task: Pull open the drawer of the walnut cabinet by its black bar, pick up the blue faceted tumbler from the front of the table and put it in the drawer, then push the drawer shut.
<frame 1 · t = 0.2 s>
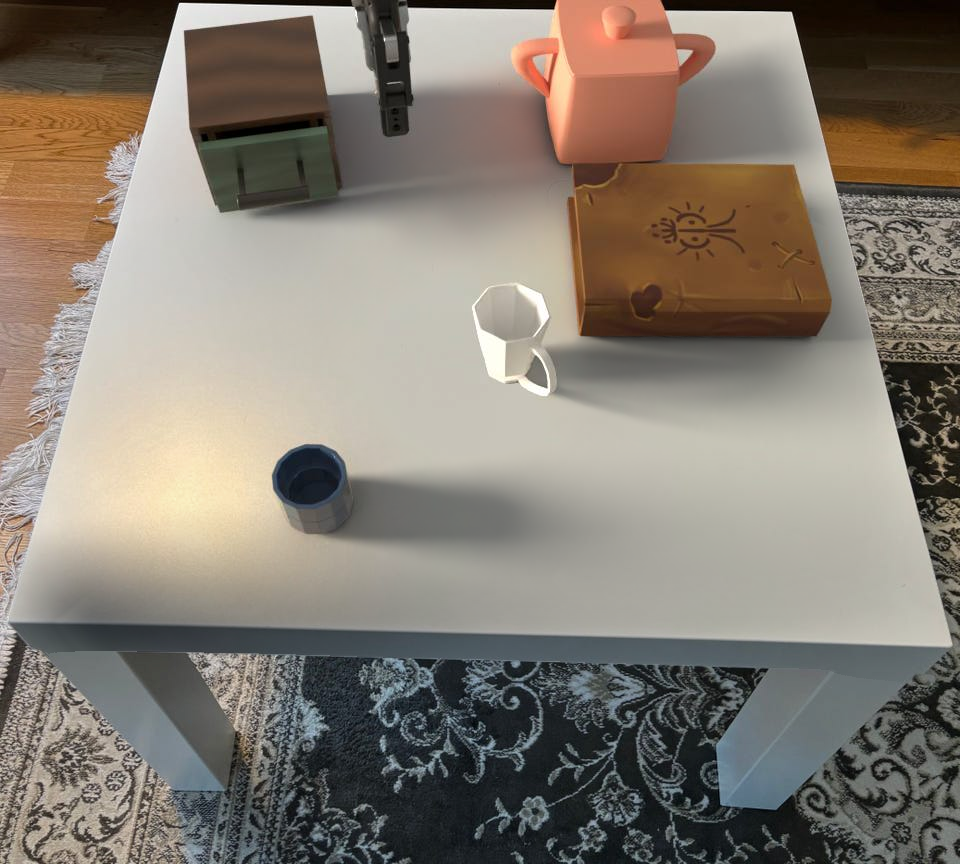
hand: (388, 100, 75), 20 cm above the table, tool pointing down, fingers open, 8 cm apart
cup: (517, 376, 85), on the table
blue faceted tumbler: (319, 505, 77), on the table
cabinet: (273, 147, 100), on the table
pink lidded sugar bowl: (599, 111, 104), on the table
diary: (683, 271, 92), on the table
drawer: (268, 143, 93), point 5 cm above the table, slide at 1.0 cm
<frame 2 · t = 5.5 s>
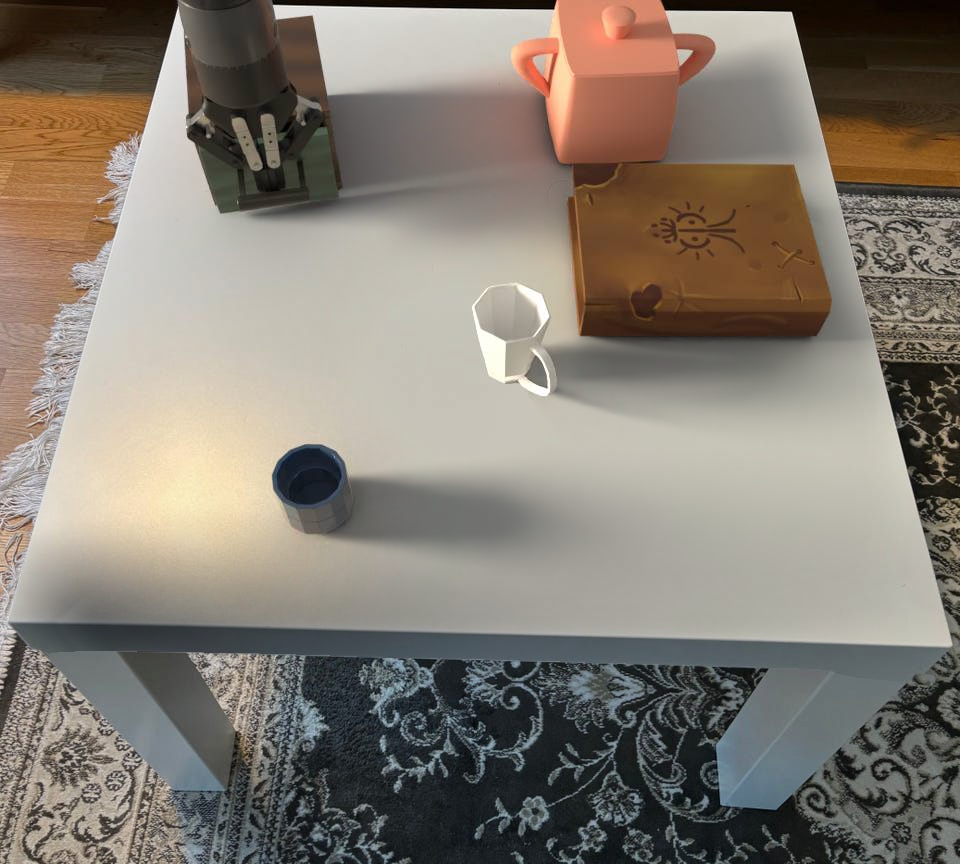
hand: (272, 190, 89), 6 cm above the table, tool pointing down, fingers closed
drawer: (268, 144, 93), point 5 cm above the table, slide at 1.1 cm, touching gripper
everything else where it was.
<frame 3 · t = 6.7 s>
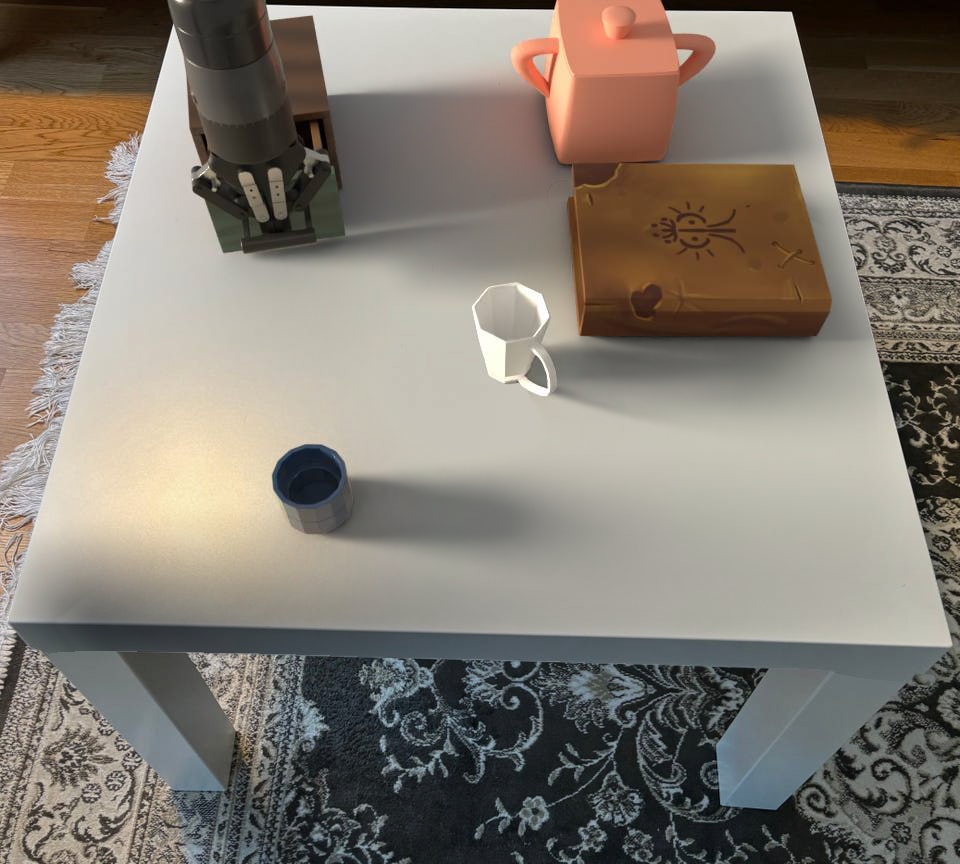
hand: (279, 239, 87), 4 cm above the table, tool pointing down, fingers closed
drawer: (273, 182, 90), point 5 cm above the table, slide at 6.8 cm, touching gripper
everything else where it was.
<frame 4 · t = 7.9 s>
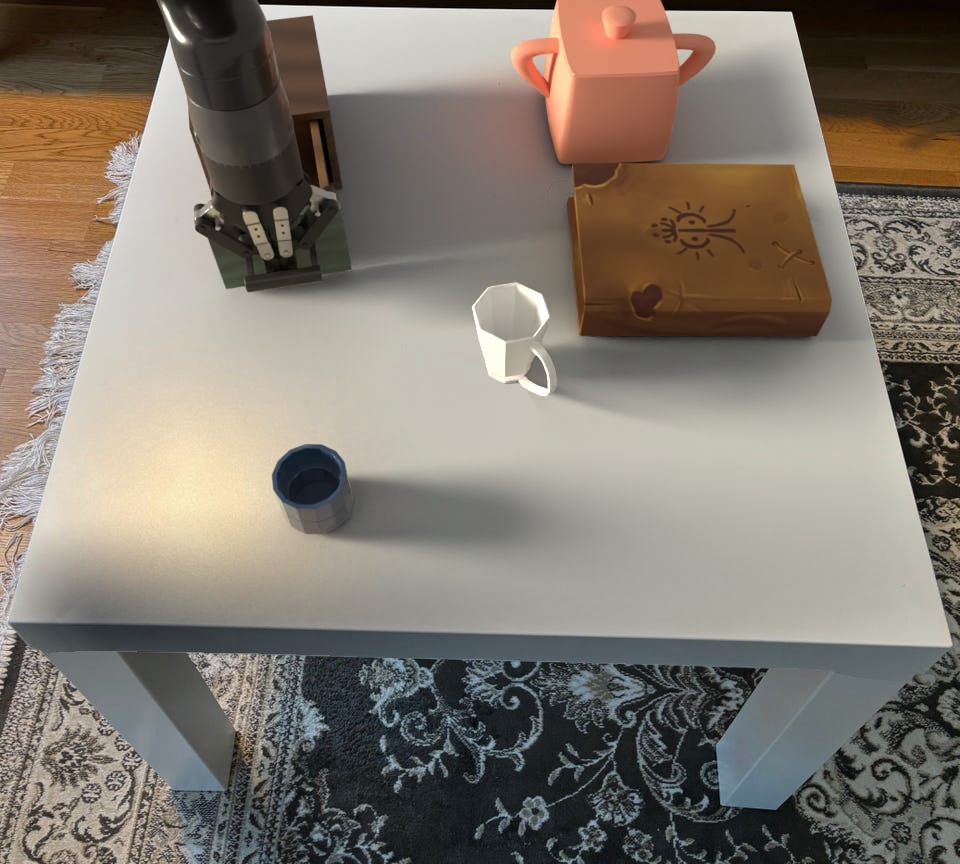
hand: (284, 276, 85), 4 cm above the table, tool pointing down, fingers closed
drawer: (277, 216, 88), point 5 cm above the table, slide at 11.6 cm, touching gripper
everything else where it was.
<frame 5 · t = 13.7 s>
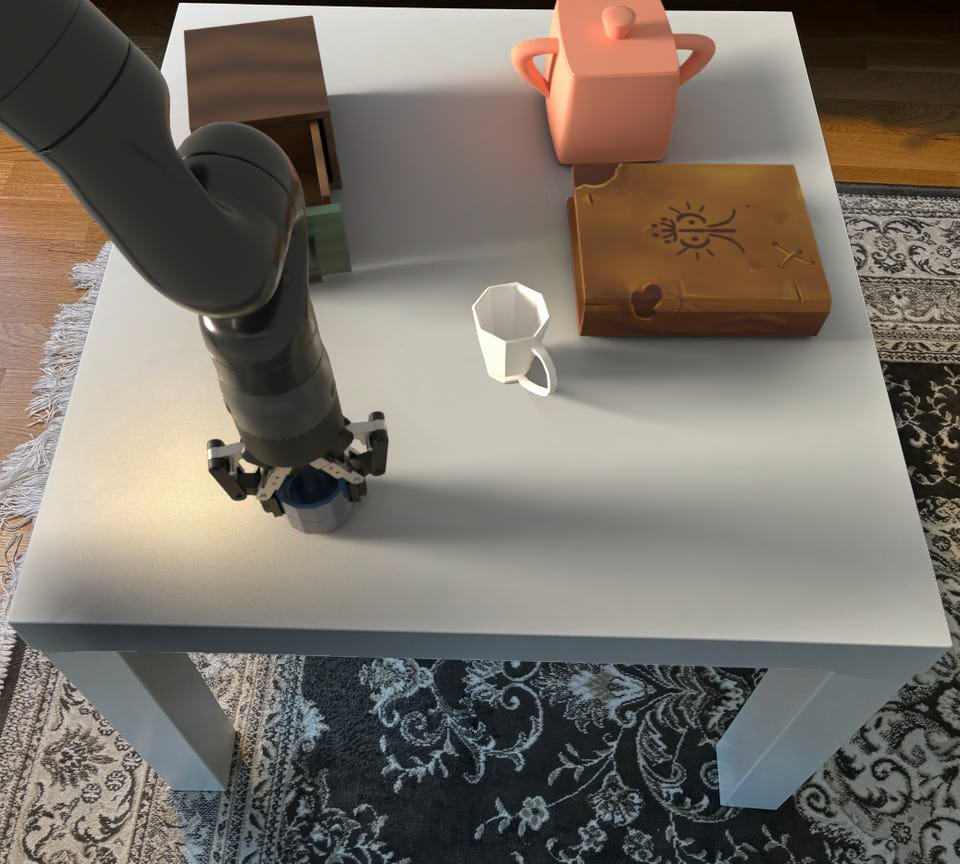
hand: (316, 499, 76), 1 cm above the table, tool pointing down, fingers closed on blue faceted tumbler, 6 cm apart
blue faceted tumbler: (319, 505, 77), on the table, touching gripper
drawer: (277, 217, 88), point 5 cm above the table, slide at 11.9 cm
everything else where it was.
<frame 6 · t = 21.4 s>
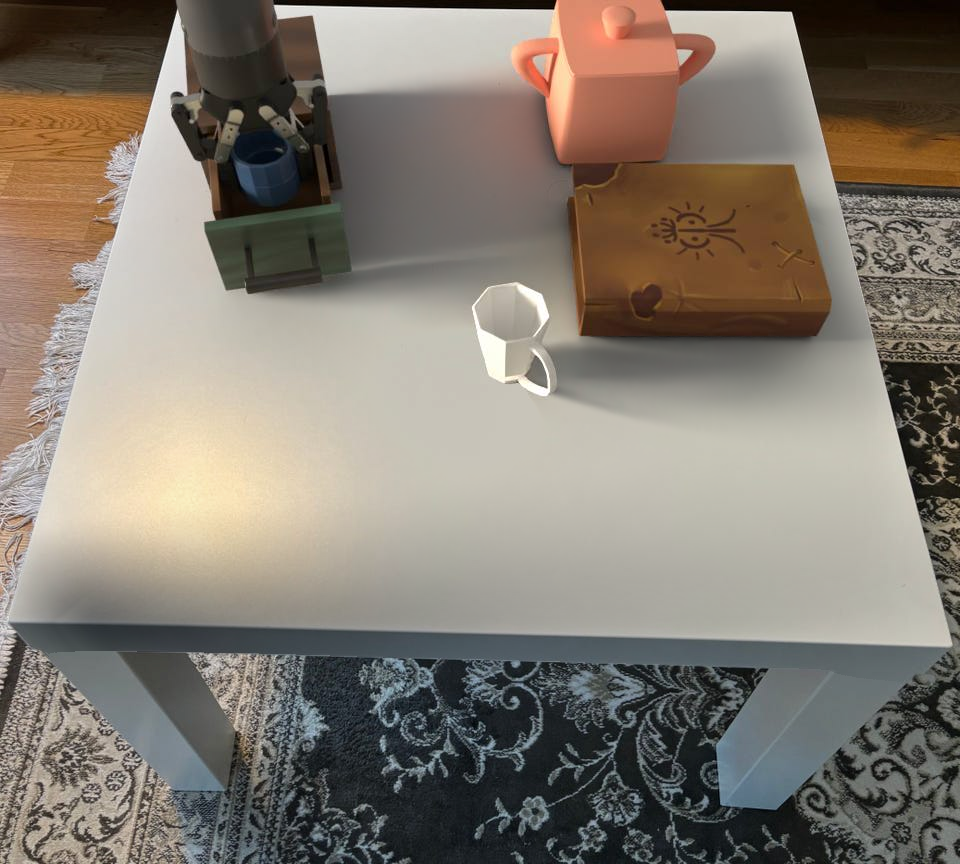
hand: (270, 180, 87), 8 cm above the table, tool pointing down, fingers closed on blue faceted tumbler, 6 cm apart
blue faceted tumbler: (272, 189, 88), point 6 cm above the table, touching gripper
everything else where it was.
when the fingers open (9 cm above the table, at t = 35.5 s): blue faceted tumbler drops 6 cm, resting on drawer.
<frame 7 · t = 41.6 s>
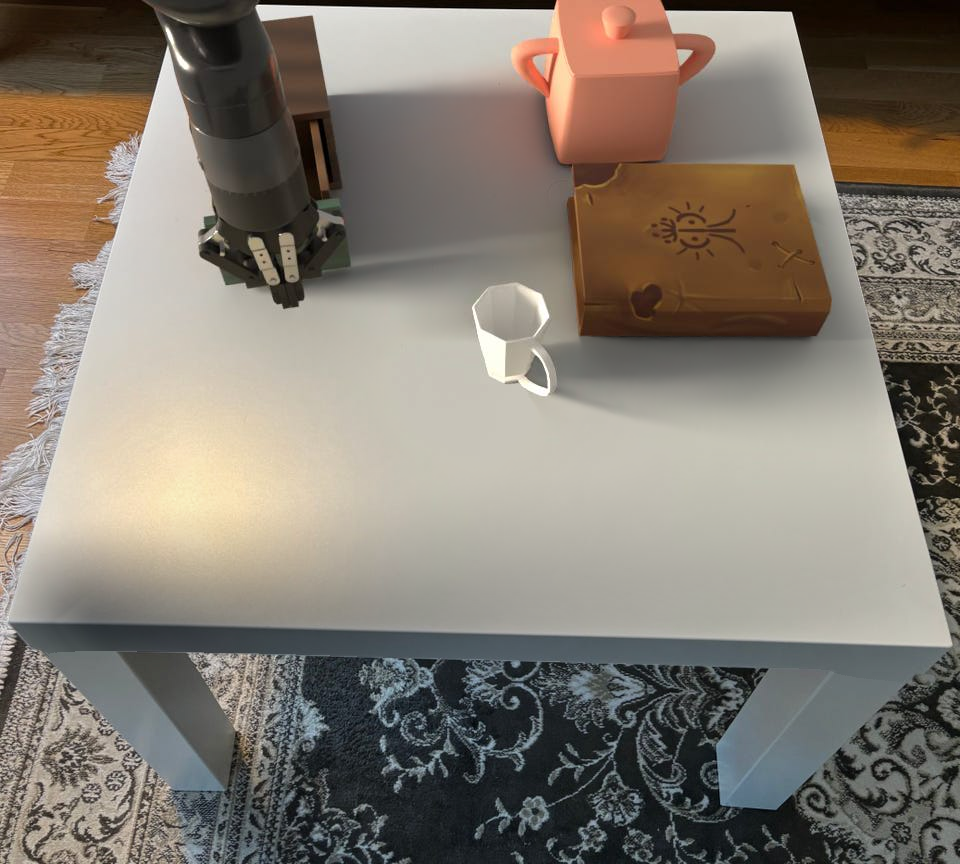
hand: (290, 300, 83), 5 cm above the table, tool pointing down, fingers closed
blue faceted tumbler: (281, 214, 92), point 2 cm above the table, touching drawer
drawer: (276, 212, 88), point 5 cm above the table, slide at 11.2 cm, touching gripper, blue faceted tumbler
everything else where it was.
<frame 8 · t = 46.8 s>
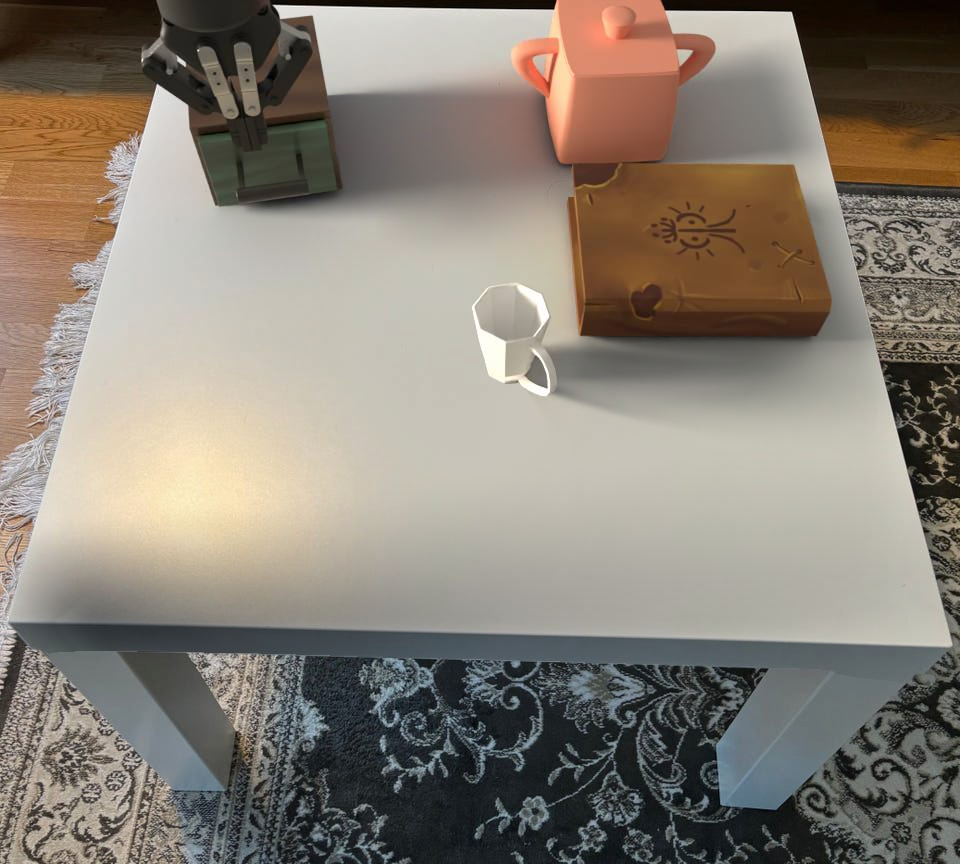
hand: (252, 145, 73), 19 cm above the table, tool pointing down, fingers closed
blue faceted tumbler: (271, 142, 98), point 2 cm above the table, touching drawer
drawer: (267, 137, 94), point 5 cm above the table, slide at 0.0 cm, touching blue faceted tumbler
everything else where it was.
at the end: drawer pulled out 11.9 cm at the most during the clip, back to where it started at the end; blue faceted tumbler inside the target area in the cabinet (1.6 cm from its centre), point 2.1 cm above the cabinet's base; drawer slide at 0.0 cm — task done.
